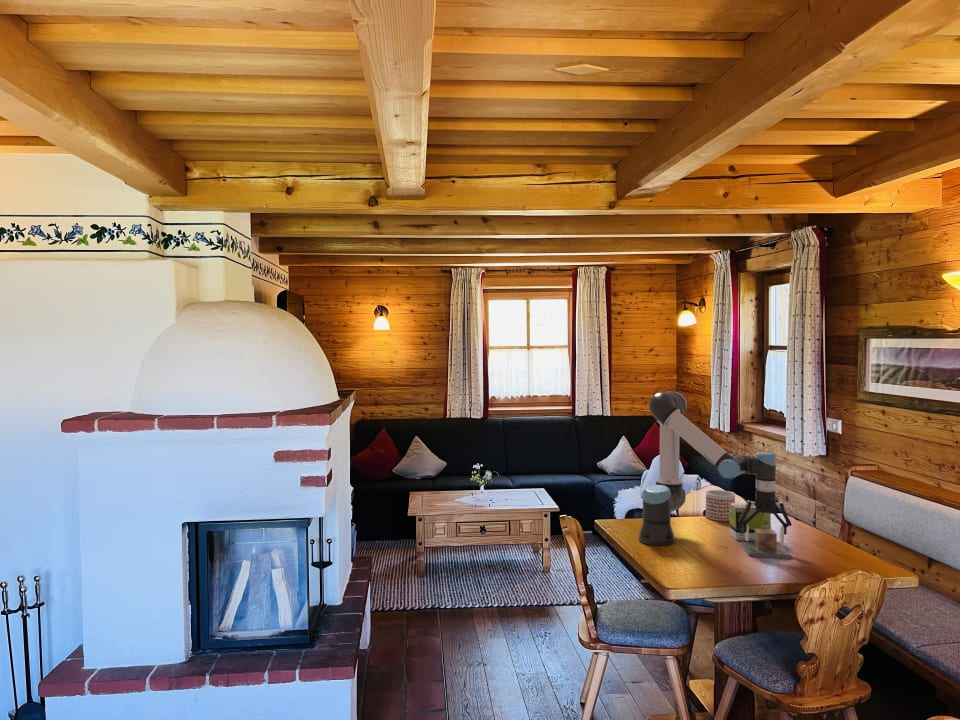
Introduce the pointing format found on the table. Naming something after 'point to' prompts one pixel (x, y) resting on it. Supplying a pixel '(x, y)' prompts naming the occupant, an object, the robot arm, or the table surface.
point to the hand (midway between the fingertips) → (764, 541)
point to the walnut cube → (765, 539)
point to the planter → (719, 505)
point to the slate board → (754, 552)
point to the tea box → (756, 523)
